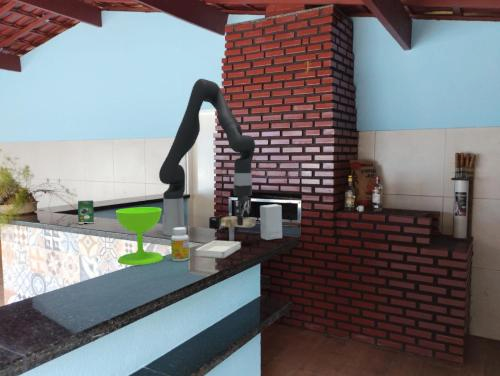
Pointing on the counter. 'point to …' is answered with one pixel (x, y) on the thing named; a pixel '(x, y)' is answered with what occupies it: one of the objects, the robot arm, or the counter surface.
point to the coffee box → (85, 211)
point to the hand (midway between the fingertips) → (242, 223)
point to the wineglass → (139, 232)
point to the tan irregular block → (233, 222)
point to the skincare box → (271, 221)
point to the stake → (231, 233)
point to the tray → (218, 249)
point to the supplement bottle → (180, 244)
